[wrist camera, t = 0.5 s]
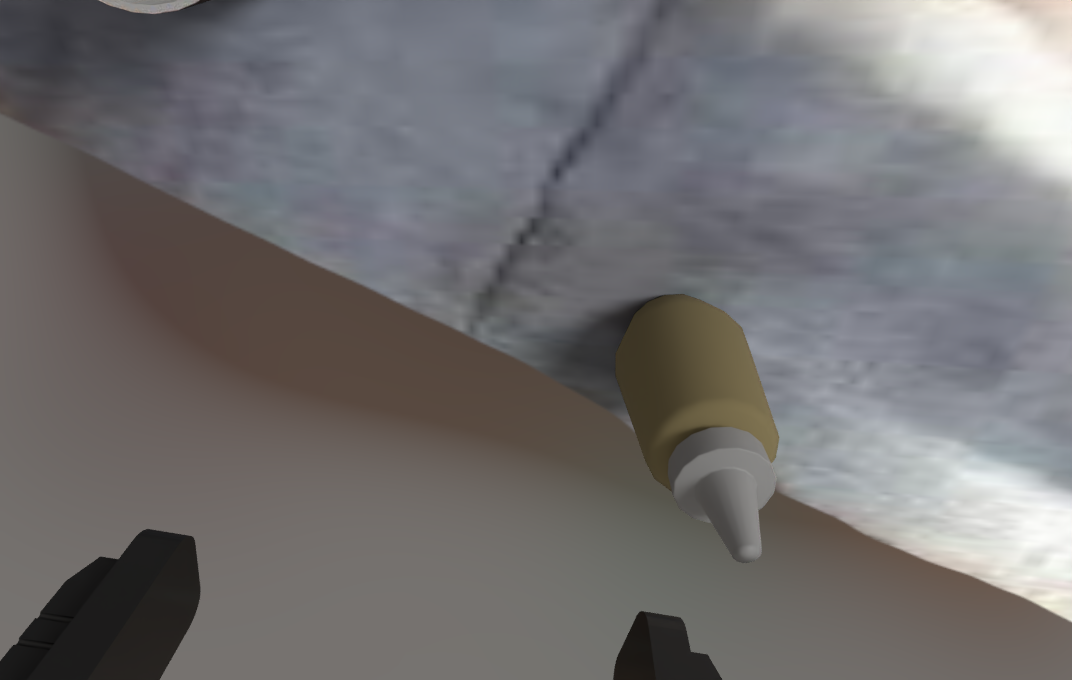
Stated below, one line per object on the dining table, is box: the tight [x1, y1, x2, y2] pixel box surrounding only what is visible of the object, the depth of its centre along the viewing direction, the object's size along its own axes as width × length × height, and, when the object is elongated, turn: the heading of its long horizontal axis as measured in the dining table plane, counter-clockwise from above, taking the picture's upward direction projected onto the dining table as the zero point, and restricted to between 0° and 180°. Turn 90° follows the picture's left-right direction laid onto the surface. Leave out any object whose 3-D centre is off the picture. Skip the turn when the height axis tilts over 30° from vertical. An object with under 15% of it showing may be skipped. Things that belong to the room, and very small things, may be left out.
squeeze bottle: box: [615, 294, 779, 563], centre depth 32 cm, size 8×8×18 cm
